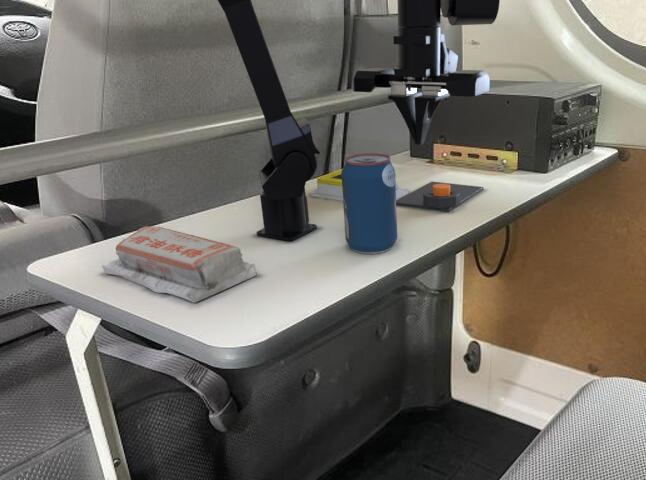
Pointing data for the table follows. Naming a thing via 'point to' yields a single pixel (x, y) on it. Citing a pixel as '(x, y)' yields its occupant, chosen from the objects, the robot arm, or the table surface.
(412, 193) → the scale
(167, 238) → the packaged product
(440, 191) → the button
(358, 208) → the soda can
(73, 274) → the table surface
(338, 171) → the emergency button
